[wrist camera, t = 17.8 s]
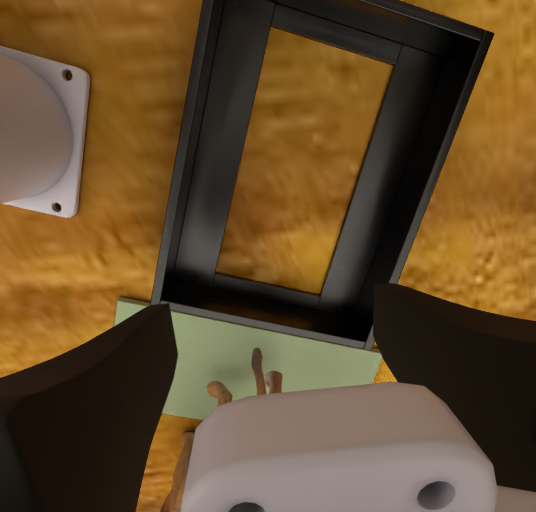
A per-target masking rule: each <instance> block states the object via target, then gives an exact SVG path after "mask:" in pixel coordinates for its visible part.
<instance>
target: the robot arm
mask: <svg viewBox="0 0 536 512" xmlns="http://www.w3.org/2000/svg"><path fill="white" fill-rule="evenodd" d="M68 71H71V73H72V76H73V77H72V79H71V80H70V81H68V80H67V79H66V73H67V72H68ZM89 90H90V77H89V75H88V73H87V72H86V71H85V70H83V69H81V68H78V67H75V66H71V65H68V64H64V63H61V62H57V61H53V60H50V59H46V58H43V57H39V56H36V55H32V54H28V53H25V52H21V51H18V50H14V49H11V48H7V47H3V46H0V203H2V204H6V205H11V206H15V207H20V208H24V209H28V210H33V211H37V212H42V213H46V214H51V215H55V216H59V217H64V218H70V217H73V216H75V215H76V214H77V211H78V202H79V192H80V182H81V172H82V161H83V151H84V141H85V131H86V121H87V110H88V100H89ZM56 203H58V204H60V206H61V211H59V210H57V209H56V206H55V205H56ZM373 337H374V340H375V342H376V344H377V347H378V349H379V351H380V353H381V355H382V357H383V359H384V361H385V362H386V364H387V366H388V367H389V369H390V370H391V372H392V373H393V375H394V377H395V378H396V380H397V381H398V382H384V383H374V384H364V385H354V386H344V387H334V388H324V389H314V390H304V391H294V392H284V393H274V394H264V395H254V396H247V397H244V398H241V399H238V400H235V401H232V402H229V403H226V404H223V405H220V406H217V407H216V408H215V409H214V410H213V411H212V412H211V413H210V414H209V415H208V416H207V417H206V418H205V419H204V420H203V421H202V422H201V424H200V425H199V426H198V427H197V428H196V430H195V435H194V441H193V446H192V451H191V457H190V462H189V467H188V473H187V478H186V483H185V489H184V494H183V500H182V506H181V509H178V510H176V511H173V512H536V321H531V320H525V319H518V318H513V317H508V316H503V315H498V314H494V313H489V312H485V311H481V310H477V309H473V308H469V307H466V306H463V305H459V304H456V303H453V302H449V301H446V300H443V299H440V298H437V297H434V296H432V295H429V294H426V293H423V292H420V291H417V290H414V289H412V288H409V287H405V286H402V285H399V284H394V283H386V284H375V285H374V308H373ZM177 359H178V350H177V344H176V339H175V333H174V328H173V322H172V316H171V311H170V305H169V303H166V304H155V305H150V306H147V307H145V308H144V309H142V310H140V311H138V312H137V313H135V314H133V315H132V316H130V317H129V318H127V319H125V320H124V321H122V322H120V323H119V324H117V325H116V326H114V327H112V328H111V329H109V330H107V331H105V332H104V333H102V334H100V335H98V336H97V337H95V338H93V339H91V340H90V341H88V342H86V343H84V344H82V345H80V346H78V347H76V348H74V349H72V350H70V351H68V352H66V353H64V354H62V355H59V356H57V357H55V358H53V359H50V360H48V361H45V362H42V363H40V364H37V365H35V366H32V367H30V368H27V369H24V370H22V371H19V372H16V373H14V374H11V375H8V376H5V377H1V378H0V512H136V507H137V502H138V498H139V493H140V488H141V483H142V479H143V475H144V471H145V466H146V462H147V458H148V454H149V450H150V446H151V443H152V440H153V436H154V434H155V431H156V428H157V425H158V422H159V420H160V417H161V414H162V411H163V408H164V405H165V403H166V400H167V397H168V394H169V391H170V388H171V385H172V382H173V379H174V375H175V370H176V364H177Z"/></svg>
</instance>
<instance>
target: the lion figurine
mask: <svg viewBox="0 0 536 512" xmlns="http://www.w3.org/2000/svg"><path fill="white" fill-rule="evenodd" d="M262 359H263V356H262V352H261V350H260V348H254V349H253V353H252V362H251V367H252V369H253V372H254V375H255V380H256V388H257V395H264V394H266V387H265V384H266V385H267V386H268V387H269V388H270V389H269V394H274V393H282V378H283V375H282V373H280V372H278V371H269V372H268V373H266V375H265V377H264V375H263V371H262ZM207 392H208V394H209V395H210V396H211V397H215V398H218V405H217V406H220V405H223V404H226V403H229V402H232V398H233V395H232V394H231V393H230V392H229V390H228V389H227V387H226V386H225V385H224V383H222V382H220V381H212V382H210V383H209V384H208V385H207ZM194 435H195V433H193V432H185V433H183V434H182V435H181V438H180V439H181V441H182V442H183V443H184V447H183V449H182V452H181V454H180V457H179V460H178V463H177V465H176V468H175V471H174V475H173V485H172V489H171V492H170V493H169V495H168V496H167V498H166V500H165V501H164V503H163V505H162V508H161V510H160V512H173V511H176V510H178V509H181V506H182V500H183V494H184V489H185V483H186V478H187V473H188V467H189V462H190V457H191V451H192V446H193V441H194Z"/></svg>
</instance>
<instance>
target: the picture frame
mask: <svg viewBox="0 0 536 512" xmlns="http://www.w3.org/2000/svg"><path fill="white" fill-rule="evenodd" d="M270 26H271V27H273V28H276V29H280V30H283V31H286V32H289V33H292V34H295V35H299V36H302V37H305V38H308V39H311V40H314V41H318V42H321V43H324V44H327V45H330V46H333V47H337V48H340V49H343V50H346V51H349V52H352V53H356V54H359V55H362V56H365V57H368V58H371V59H375V60H378V61H381V62H384V63H387V64H390V65H394V68H393V71H392V74H391V77H390V80H389V83H388V86H387V89H386V92H385V95H384V98H383V102H382V105H381V108H380V111H379V114H378V117H377V120H376V123H375V126H374V129H373V132H372V136H371V139H370V142H369V145H368V148H367V151H366V154H365V157H364V160H363V163H362V166H361V170H360V173H359V176H358V179H357V182H356V185H355V188H354V191H353V194H352V197H351V200H350V204H349V207H348V210H347V213H346V216H345V219H344V222H343V225H342V228H341V231H340V234H339V237H338V241H337V244H336V247H335V250H334V253H333V256H332V259H331V262H330V265H329V268H328V271H327V275H326V278H325V281H324V284H323V287H322V290H321V293H320V295H317V294H312V293H307V292H303V291H298V290H294V289H289V288H285V287H280V286H275V285H271V284H266V283H262V282H257V281H253V280H248V279H243V278H239V277H234V276H230V275H225V274H220V273H216V272H215V271H216V266H217V262H218V258H219V253H220V249H221V244H222V240H223V235H224V231H225V226H226V222H227V218H228V213H229V209H230V204H231V200H232V195H233V191H234V186H235V182H236V177H237V173H238V169H239V164H240V160H241V155H242V151H243V146H244V142H245V137H246V133H247V129H248V124H249V120H250V115H251V111H252V106H253V102H254V97H255V93H256V89H257V84H258V80H259V75H260V71H261V66H262V62H263V57H264V53H265V48H266V44H267V40H268V35H269V31H270ZM493 36H494V33H493V32H490V31H487V30H484V29H481V28H478V27H475V26H472V25H469V24H466V23H463V22H460V21H458V20H455V19H452V18H449V17H446V16H443V15H440V14H437V13H434V12H431V11H428V10H425V9H422V8H420V7H417V6H414V5H411V4H408V3H405V2H402V1H399V0H203V1H202V7H201V13H200V19H199V25H198V30H197V36H196V42H195V48H194V54H193V59H192V65H191V71H190V77H189V83H188V88H187V94H186V100H185V106H184V112H183V117H182V123H181V129H180V135H179V141H178V146H177V152H176V158H175V164H174V170H173V175H172V181H171V187H170V193H169V199H168V204H167V210H166V216H165V222H164V228H163V233H162V239H161V245H160V251H159V257H158V262H157V268H156V274H155V280H154V286H153V291H152V297H151V303H150V305H155V304H166V303H169V305H170V310H173V311H178V312H183V313H188V314H193V315H198V316H203V317H208V318H213V319H218V320H223V321H228V322H233V323H238V324H243V325H248V326H253V327H257V328H262V329H267V330H272V331H277V332H282V333H287V334H292V335H297V336H302V337H307V338H312V339H317V340H322V341H327V342H332V343H337V344H342V345H347V346H352V347H357V348H362V349H363V348H364V349H367V350H371V349H372V347H373V344H374V342H375V340H374V337H373V308H374V285H375V284H386V283H394V284H397V283H398V280H399V278H400V275H401V272H402V270H403V267H404V265H405V262H406V260H407V257H408V254H409V252H410V249H411V247H412V244H413V242H414V239H415V236H416V234H417V231H418V229H419V226H420V224H421V221H422V218H423V216H424V213H425V211H426V208H427V206H428V203H429V200H430V198H431V195H432V193H433V190H434V188H435V185H436V182H437V180H438V177H439V175H440V172H441V170H442V167H443V165H444V162H445V159H446V157H447V154H448V152H449V149H450V147H451V144H452V141H453V139H454V136H455V134H456V131H457V129H458V126H459V123H460V121H461V118H462V116H463V113H464V111H465V108H466V105H467V103H468V100H469V98H470V95H471V93H472V90H473V87H474V85H475V82H476V80H477V77H478V75H479V72H480V69H481V67H482V64H483V62H484V59H485V57H486V54H487V52H488V49H489V46H490V44H491V41H492V39H493Z"/></svg>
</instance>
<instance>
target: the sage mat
mask: <svg viewBox="0 0 536 512" xmlns="http://www.w3.org/2000/svg"><path fill="white" fill-rule="evenodd" d="M147 306H150V303H148V302H143V301H138V300H133V299H128V298H123V297H121V298H120V299H119V300H118V302H117V309H116V316H115V323H114V326H116V325H117V324H119V323H120V322H122V321H124V320H125V319H127V318H129V317H130V316H132V315H133V314H135V313H137V312H138V311H140V310H142V309H144V308H145V307H147ZM170 311H171V316H172V322H173V328H174V333H175V339H176V344H177V350H178V359H177V364H176V370H175V375H174V379H173V382H172V385H171V388H170V391H169V394H168V397H167V400H166V403H165V405H164V408H163V411H162V414H168V415H174V416H180V417H187V418H193V419H199V420H204V419H205V418H206V417H207V416H208V415H209V414H210V413H211V412H212V411H213V410H214V409H215V408H216V407H217V405H218V398H215V397H211V396H210V395H209V394H208V392H207V385H208V384H209V383H210V382H212V381H220V382H222V383H224V385H225V386H226V387H227V389H228V390H229V392H230V393H231V394H232V395H233V398H232V401H235V400H238V399H241V398H244V397H247V396H254V395H257V388H256V380H255V375H254V372H253V369H252V367H251V362H252V353H253V349H254V348H260V350H261V352H262V356H263V359H262V371H263V375H264V377H265V375H266V373H268V372H269V371H278V372H280V373H282V375H283V378H282V393H284V392H294V391H304V390H314V389H324V388H334V387H344V386H354V385H364V384H372V383H373V380H374V378H375V375H376V373H377V370H378V368H379V365H380V363H381V360H382V358H383V357H382V355H381V353H380V351H379V349H376V348H372V349H371V350H367V349H364V348H363V349H362V348H357V347H352V346H347V345H342V344H337V343H332V342H327V341H322V340H317V339H312V338H307V337H302V336H297V335H292V334H287V333H282V332H277V331H272V330H267V329H262V328H257V327H253V326H248V325H243V324H238V323H233V322H228V321H223V320H218V319H213V318H208V317H203V316H198V315H193V314H188V313H183V312H178V311H173V310H170ZM265 387H266V394H269V389H270V388H269V387H268V386H267V385H266V384H265Z"/></svg>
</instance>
